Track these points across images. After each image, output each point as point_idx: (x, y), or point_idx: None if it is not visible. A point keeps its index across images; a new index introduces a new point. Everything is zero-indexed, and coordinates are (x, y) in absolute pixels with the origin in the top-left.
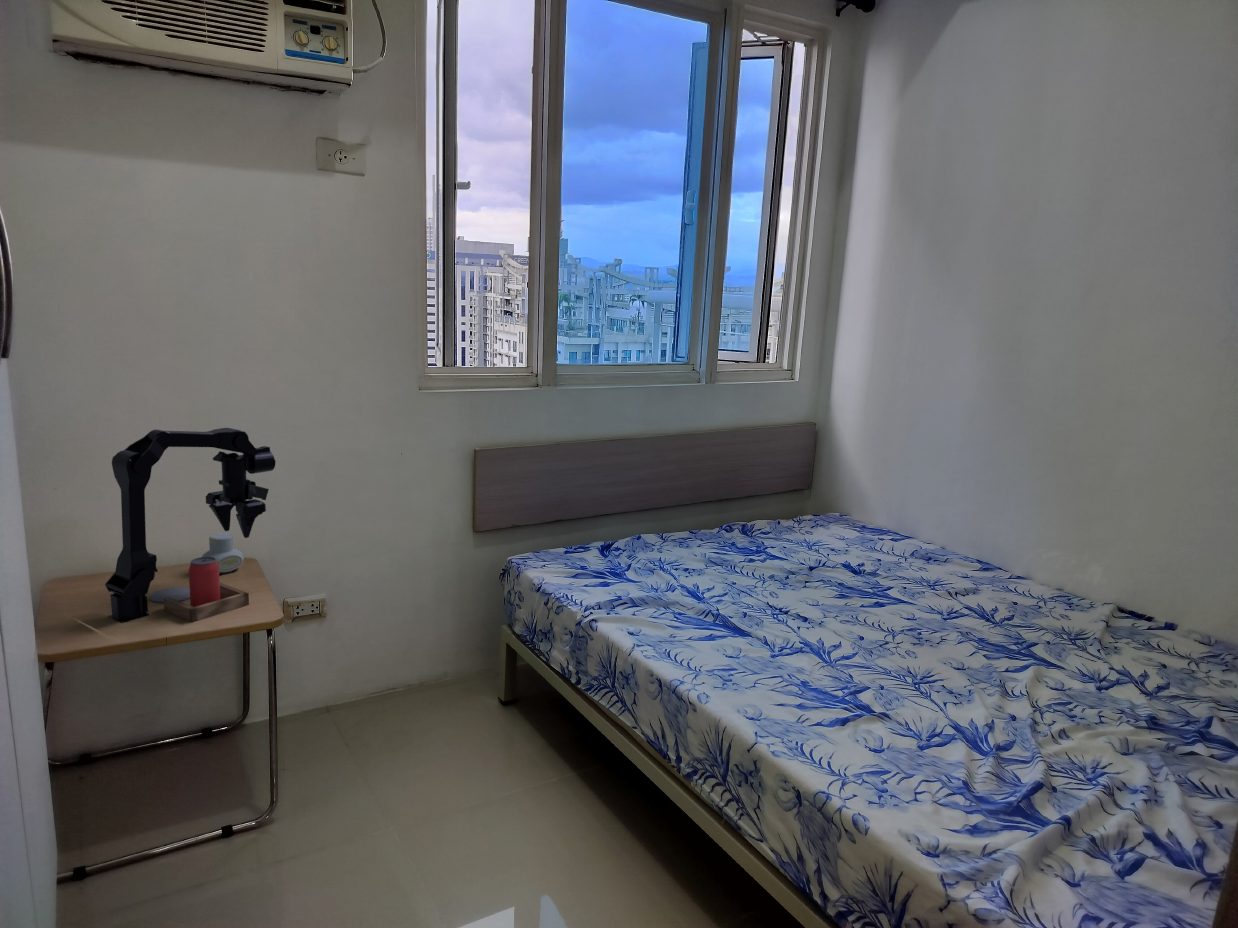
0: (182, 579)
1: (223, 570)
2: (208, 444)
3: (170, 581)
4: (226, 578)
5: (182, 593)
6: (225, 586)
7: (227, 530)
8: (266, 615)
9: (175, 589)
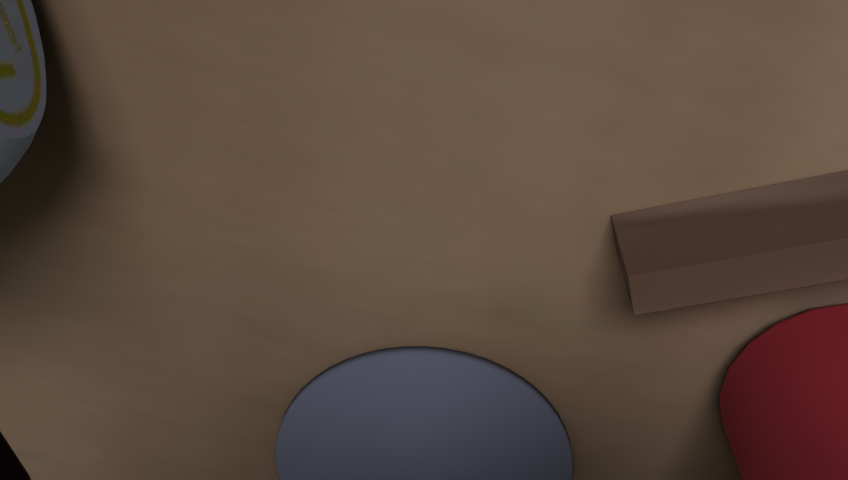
0: (59, 323)
1: (37, 34)
2: None
3: (76, 392)
4: (192, 33)
5: (446, 424)
6: (786, 275)
7: (13, 460)
8: None
9: (325, 433)
